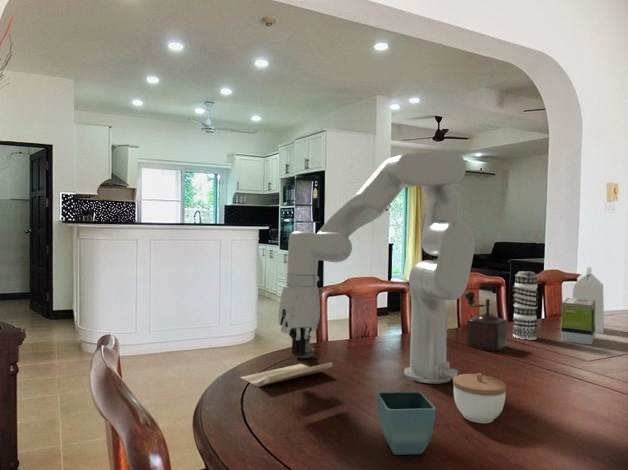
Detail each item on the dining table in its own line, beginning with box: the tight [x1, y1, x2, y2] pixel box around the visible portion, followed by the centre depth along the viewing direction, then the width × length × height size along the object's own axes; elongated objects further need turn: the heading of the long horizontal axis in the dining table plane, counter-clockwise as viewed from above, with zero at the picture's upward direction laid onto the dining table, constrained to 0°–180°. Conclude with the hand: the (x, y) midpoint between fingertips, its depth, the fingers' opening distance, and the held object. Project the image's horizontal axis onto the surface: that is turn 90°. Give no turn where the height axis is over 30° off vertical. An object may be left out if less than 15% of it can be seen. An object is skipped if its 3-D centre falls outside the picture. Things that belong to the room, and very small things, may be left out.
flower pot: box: [376, 391, 437, 456], centre depth 84 cm, size 9×9×9 cm
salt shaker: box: [297, 333, 315, 360], centre depth 137 cm, size 6×6×12 cm
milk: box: [572, 266, 605, 334], centre depth 193 cm, size 12×12×26 cm
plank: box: [253, 361, 334, 388], centre depth 116 cm, size 7×20×1 cm
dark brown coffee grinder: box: [463, 291, 508, 352], centre depth 162 cm, size 16×11×18 cm
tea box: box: [560, 297, 596, 346], centre depth 173 cm, size 15×10×15 cm
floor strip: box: [239, 363, 309, 385], centre depth 121 cm, size 6×20×1 cm, turn 130°
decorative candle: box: [511, 270, 540, 341], centre depth 175 cm, size 9×9×25 cm
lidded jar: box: [452, 372, 507, 424], centre depth 98 cm, size 11×11×9 cm
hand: (298, 354), depth 114 cm, fingers closed
